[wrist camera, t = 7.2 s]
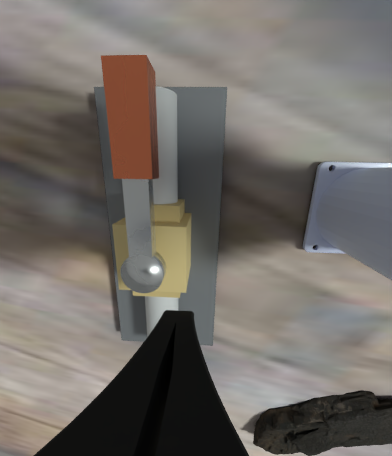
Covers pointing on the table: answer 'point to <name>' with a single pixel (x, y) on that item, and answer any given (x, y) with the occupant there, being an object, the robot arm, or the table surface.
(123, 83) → the valve lever
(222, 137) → the valve stand
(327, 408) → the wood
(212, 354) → the table surface
